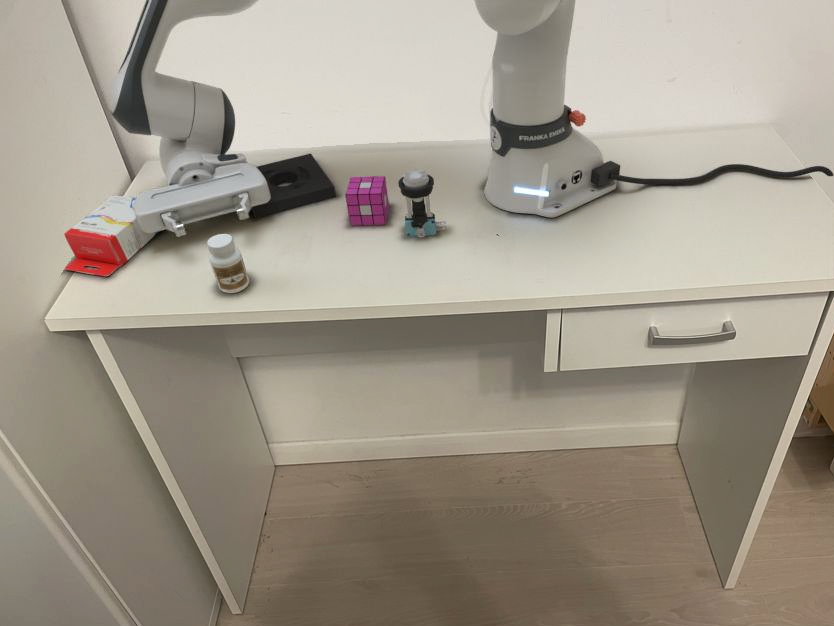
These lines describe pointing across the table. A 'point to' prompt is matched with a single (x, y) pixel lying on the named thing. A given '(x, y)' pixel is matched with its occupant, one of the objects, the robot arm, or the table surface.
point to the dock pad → (294, 184)
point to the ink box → (106, 237)
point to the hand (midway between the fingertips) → (212, 223)
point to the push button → (419, 204)
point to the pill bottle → (227, 264)
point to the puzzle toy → (367, 200)
